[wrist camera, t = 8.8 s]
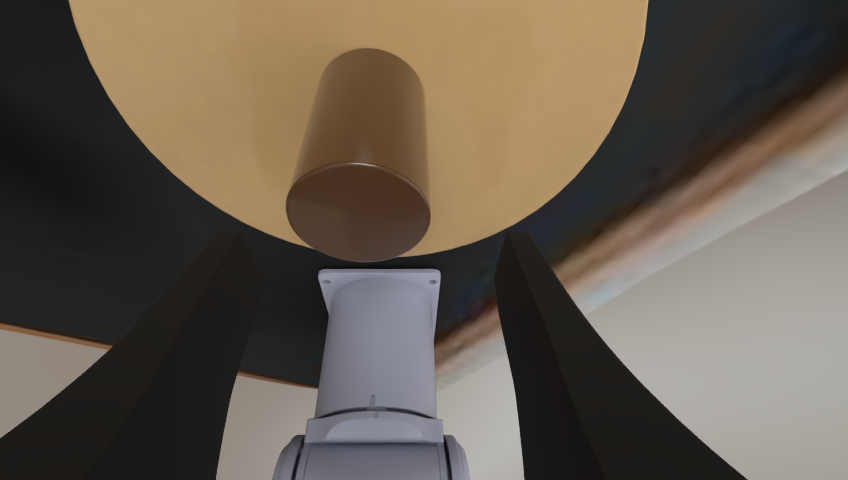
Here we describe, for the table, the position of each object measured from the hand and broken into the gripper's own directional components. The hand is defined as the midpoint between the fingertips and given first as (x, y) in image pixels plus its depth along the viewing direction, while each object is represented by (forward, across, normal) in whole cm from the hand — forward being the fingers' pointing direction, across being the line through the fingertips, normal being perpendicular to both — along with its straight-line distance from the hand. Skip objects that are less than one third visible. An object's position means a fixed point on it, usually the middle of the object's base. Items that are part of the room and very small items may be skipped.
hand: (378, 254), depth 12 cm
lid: (+2, 0, -4) cm, 4 cm away
